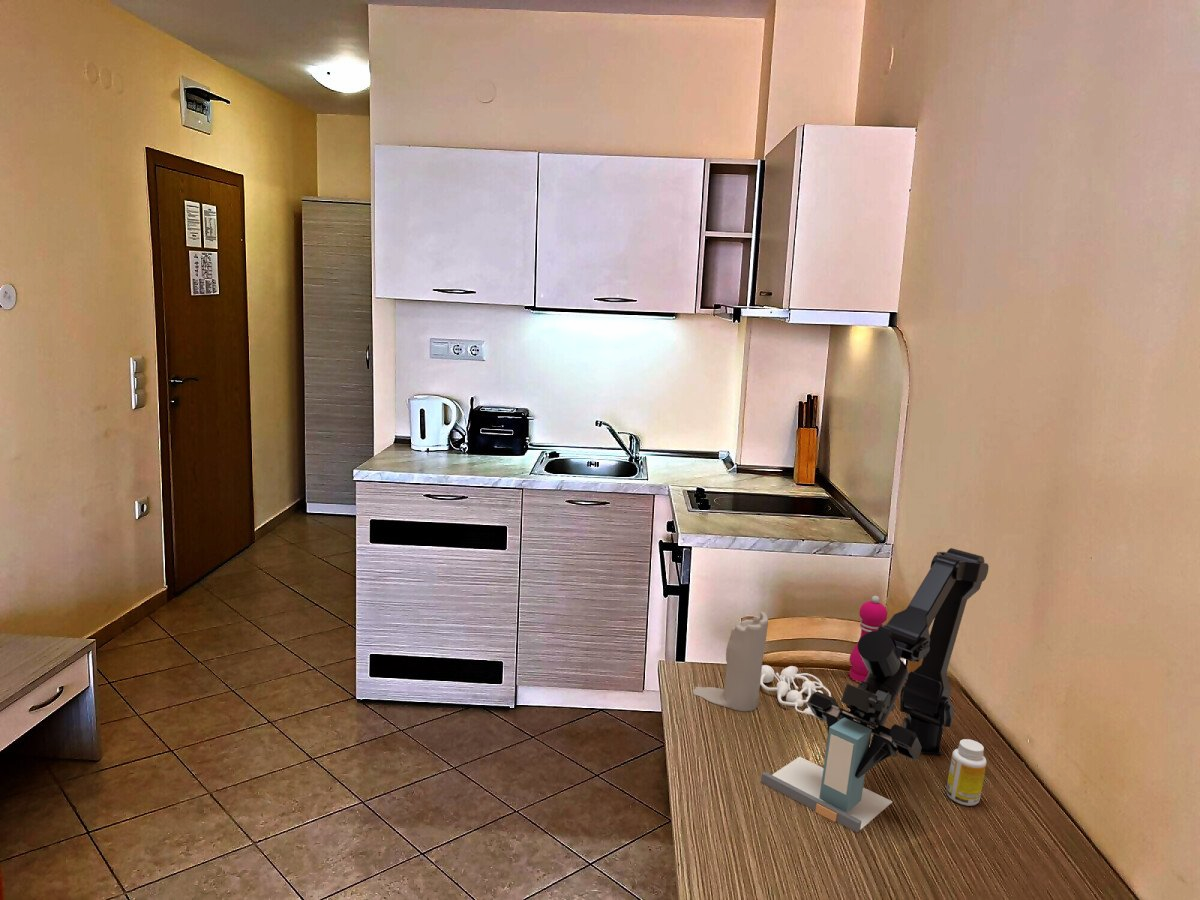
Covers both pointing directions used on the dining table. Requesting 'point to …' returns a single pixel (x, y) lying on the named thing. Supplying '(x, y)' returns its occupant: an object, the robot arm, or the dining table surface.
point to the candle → (741, 667)
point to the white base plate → (805, 787)
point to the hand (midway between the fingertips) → (841, 769)
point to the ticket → (826, 812)
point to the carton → (844, 764)
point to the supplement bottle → (966, 773)
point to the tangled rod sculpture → (782, 688)
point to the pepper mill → (871, 620)
